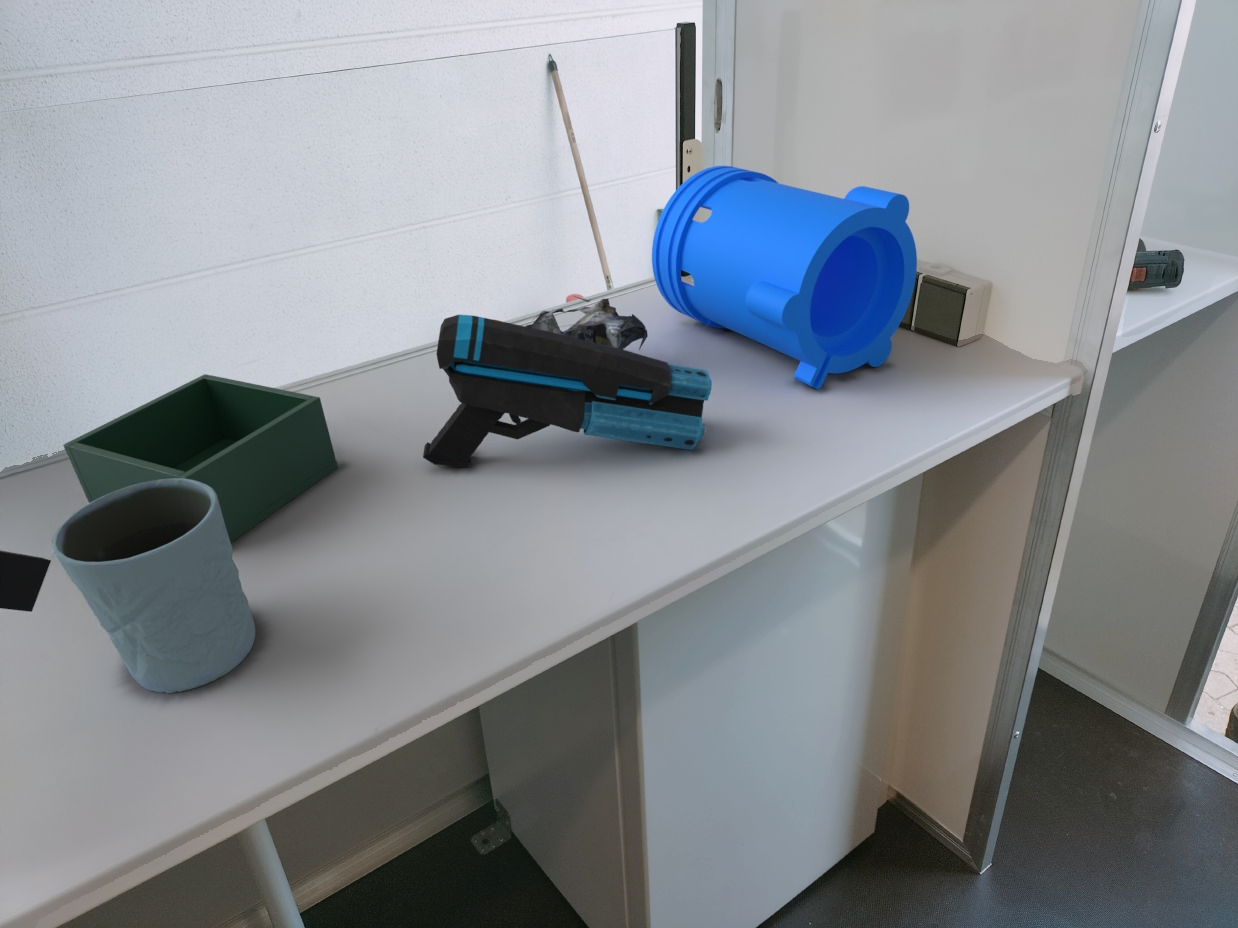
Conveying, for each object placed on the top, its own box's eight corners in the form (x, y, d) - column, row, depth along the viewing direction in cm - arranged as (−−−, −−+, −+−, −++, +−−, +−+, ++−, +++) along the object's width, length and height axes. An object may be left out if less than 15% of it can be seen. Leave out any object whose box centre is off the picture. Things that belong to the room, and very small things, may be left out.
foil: (532, 319, 108) (615, 267, 98) (575, 394, 109) (660, 350, 99) (473, 349, 99) (557, 295, 89) (520, 429, 101) (608, 385, 91)
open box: (95, 517, 79) (62, 444, 75) (226, 440, 91) (204, 373, 87) (213, 555, 73) (184, 478, 69) (338, 467, 85) (320, 397, 81)
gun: (685, 510, 86) (727, 377, 79) (419, 478, 80) (438, 330, 73) (672, 470, 93) (709, 343, 85) (425, 437, 87) (443, 299, 80)
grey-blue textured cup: (253, 686, 59) (200, 547, 53) (97, 715, 58) (24, 576, 52) (272, 595, 68) (228, 467, 62) (137, 618, 66) (78, 489, 60)
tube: (728, 343, 118) (624, 302, 106) (795, 190, 114) (695, 129, 101) (864, 406, 100) (757, 366, 87) (951, 227, 95) (851, 158, 83)
